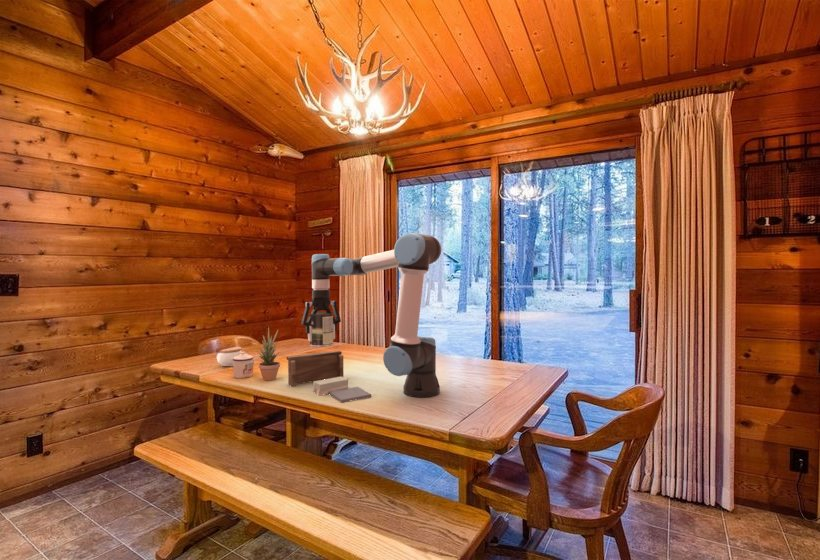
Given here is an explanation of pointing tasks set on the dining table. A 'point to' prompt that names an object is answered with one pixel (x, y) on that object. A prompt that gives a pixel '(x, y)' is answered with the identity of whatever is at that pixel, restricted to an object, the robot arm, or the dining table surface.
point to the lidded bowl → (227, 354)
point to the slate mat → (349, 394)
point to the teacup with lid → (243, 365)
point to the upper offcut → (330, 383)
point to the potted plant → (269, 359)
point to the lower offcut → (328, 390)
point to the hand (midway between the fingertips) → (321, 339)
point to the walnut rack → (314, 367)
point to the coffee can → (322, 329)
